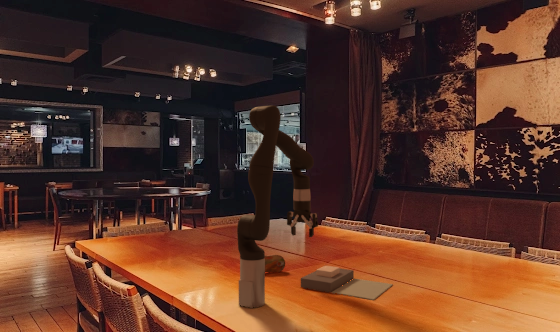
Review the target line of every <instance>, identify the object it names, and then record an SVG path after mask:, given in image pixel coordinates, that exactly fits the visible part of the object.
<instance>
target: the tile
mask: <svg viewBox="0 0 560 332" xmlns="http://www.w3.org/2000/svg"><path fill="white" fill-rule="evenodd" d="M315 271H316V275H318V276H324V277H333V276H335V275H337V274H339V273H340V267H338V266H332V265H324V266H322V267H319V268H317V269H315Z"/></svg>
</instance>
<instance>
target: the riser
mask: <svg viewBox="0 0 560 332" xmlns="http://www.w3.org/2000/svg"><path fill="white" fill-rule="evenodd" d="M354 271H355V270H353V269H347V268H340V273H339V274H337V275H335V276H333V277H324V276H318V275H316V270H315V271H312V272H311V273H308V274H306V275H305V276H302V277H300V288H301V287H303V289H307V288H308V290H312V289H313V291H319V292H324V291H325V292H324V293H329V292H330V293H331V294H332V292H333V291H334V290H336V289H338V288H339V287H341V286H342V285H344V284H346V283H347V282H349V281H350V280H352V279H354Z"/></svg>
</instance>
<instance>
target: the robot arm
mask: <svg viewBox="0 0 560 332" xmlns="http://www.w3.org/2000/svg"><path fill="white" fill-rule="evenodd" d="M248 118H249V123H250V125H251V127H253V129H254V130H256V131H257V132H258V133H259V134H261V135H262V139H261V142H260V144H259V145H258V147H257V149H256V150H255V151H254V153H253V155H252V157H251V159H250V161H249V164H248V165H249V166H248V176H247V179H248V180H247V181H248V184H249V187H250V191H251V192H252V194H253V196H254V200H255V212H254V213H255V214H243V215H241V216H240V218H239V220H238V221H237V227H236V229H237V230H236V233H237V250H238V253H239V280H238V306H239V305H241V306H240V307H243V306H246V307H245V308H248V307H250V308H249V309H253V307H254V308H260V307H263V306H264V305H265V304H266V300H265V299H266V295H265V294H266V293H265V291H266V290H265V289H266V285H265V284H266V276H265V256H266V253H265V250H264V248H262V247H260V246H259V245H258V244H257V243H256V241H257V242H258V241H259V242H262V241H265V240H266V239H267V237H268V235H269V231H270V224H271V223H270V221H271V220H270V219H271V217H270V216H271V195H272V184H273V175H274V167H275V166H274V164H275V154H276V147H277V148H278V149H279V150H280V151H281V153H282V154H283V155H284V156H285V157H286V158H287V159H288V160H289V167H290V171H291V174H292V178H293V193H292V194H293V195H292V196H293V201H292V202H293V211H291V210H290V211H287V212H286V213H287V214H286V215H287V216H286V225H287V226H289V227H290V233H291V234H290V235H291V236H296V235H297V234H296V233H297V227H296V225H298V223H302V224H303V223H304V224H306V225H307V227H308V237H309V238H313V237H314V235H315V228H317V227H318V226H319V219H318V213H317V212H315V213H312V212H311V210H312V208H311V207H312V206H311V205H312V204H311V198H312V197H311V188H310V187H311V185H310V184H311V179H310V176H308V175H305V174H303V172H302V171H308V170H311V169H312V168H313V167H314V164H315V161H314V157H313V156H312V155H311V153H310V152H308V151H307V150H306V149H304V148H303V147H301V146H300V145H298V143H297V142H296V140H295V139H294V138H293V137H291V136H290V135H289V134H287V133H285V132H283V131H282V130H280V127H281V121H282V120H281V110H280V109H279V107H278V106H276V105H261V106H256V107H253V108H252V109H251V110H250V111H249V117H248ZM293 217H294V219H293ZM259 306H260V307H259Z"/></svg>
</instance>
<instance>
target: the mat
mask: <svg viewBox="0 0 560 332" xmlns="http://www.w3.org/2000/svg"><path fill="white" fill-rule="evenodd" d="M393 284H394V283H387V282H380V281H373V280H367V279H363V278H362V279H360V278H354V279H353V280H351V281H349V282H348V283H346V284H344V285H343V286H341V287H339V288H338V289H336V290H334V291H333V292H331V294H335V293H337V294H336V295H341V294H343V295H342V296H346V295H348V296H347V297H352V296H354V298H358V297H359V298H358V299H363V298H364V300H370V301H374V300H376V299H377V298H378V297H379V296H381V295H383V294H384V293H385V292H386V291H387V290H389V289H390V288H391V287H393Z"/></svg>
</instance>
